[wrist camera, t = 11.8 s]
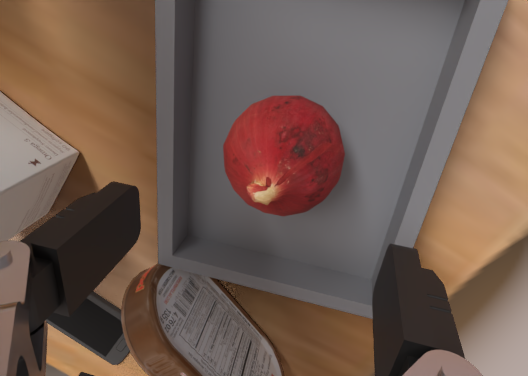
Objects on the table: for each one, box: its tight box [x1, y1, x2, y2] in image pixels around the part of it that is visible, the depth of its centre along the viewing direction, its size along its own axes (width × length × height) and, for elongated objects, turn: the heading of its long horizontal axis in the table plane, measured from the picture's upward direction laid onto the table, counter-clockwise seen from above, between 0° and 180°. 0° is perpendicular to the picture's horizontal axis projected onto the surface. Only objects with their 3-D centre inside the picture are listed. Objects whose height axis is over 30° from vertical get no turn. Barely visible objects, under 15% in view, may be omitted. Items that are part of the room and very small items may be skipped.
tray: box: [155, 0, 508, 319], centre depth 21 cm, size 20×15×4 cm
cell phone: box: [46, 291, 130, 365], centre depth 35 cm, size 7×14×1 cm, turn 57°
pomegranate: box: [223, 96, 345, 216], centre depth 18 cm, size 6×6×8 cm
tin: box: [121, 264, 284, 376], centre depth 27 cm, size 15×3×8 cm, turn 38°
